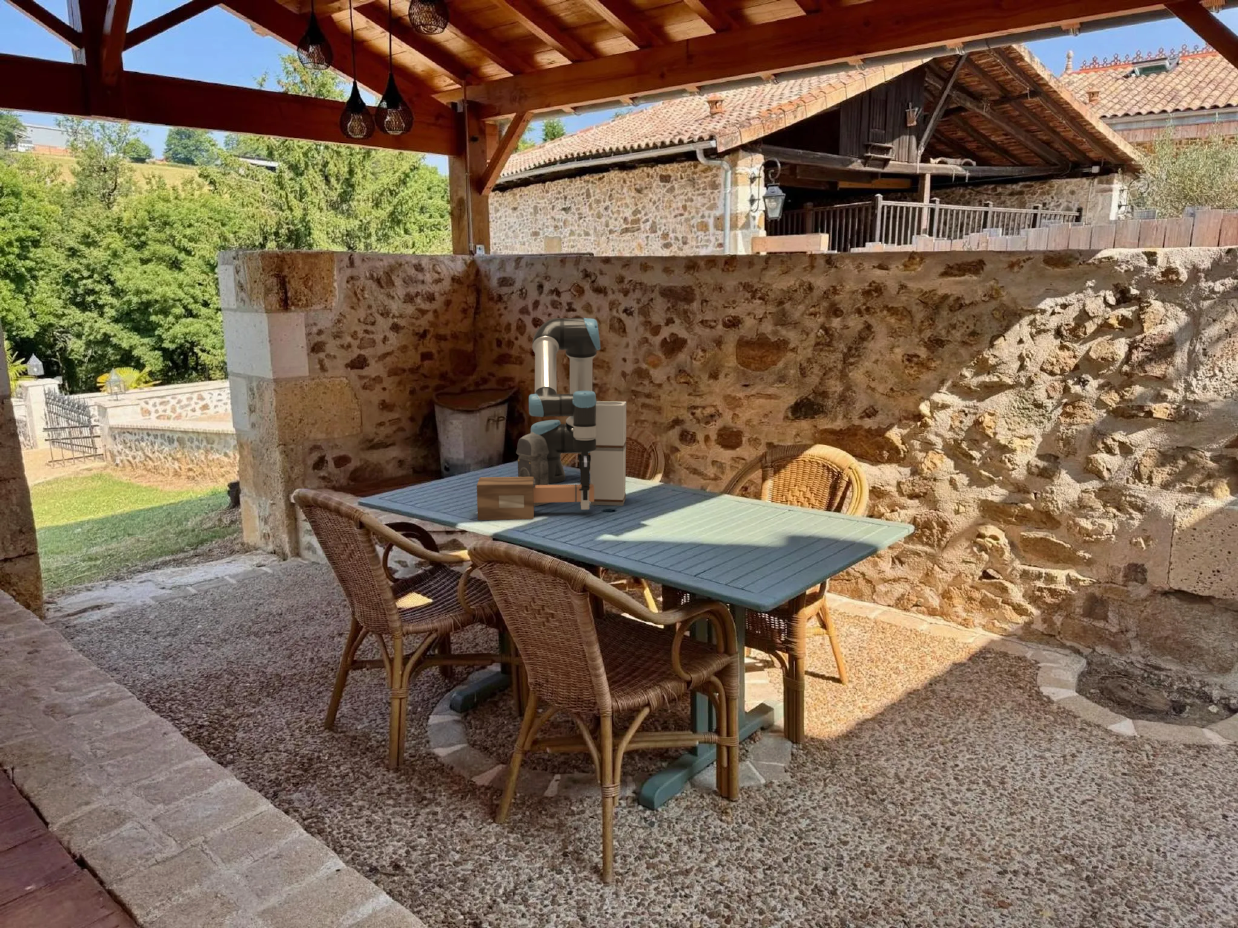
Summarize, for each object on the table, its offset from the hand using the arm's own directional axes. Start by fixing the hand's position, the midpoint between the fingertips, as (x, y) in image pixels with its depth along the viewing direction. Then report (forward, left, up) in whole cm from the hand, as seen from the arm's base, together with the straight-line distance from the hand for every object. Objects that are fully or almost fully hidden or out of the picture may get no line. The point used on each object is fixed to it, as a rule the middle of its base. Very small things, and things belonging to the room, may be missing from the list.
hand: (584, 507), depth 275 cm
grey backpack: (-17, -17, -2) cm, 24 cm away
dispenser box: (0, -26, -2) cm, 26 cm away
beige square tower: (-16, +9, -2) cm, 19 cm away
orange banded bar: (0, -9, +2) cm, 10 cm away
